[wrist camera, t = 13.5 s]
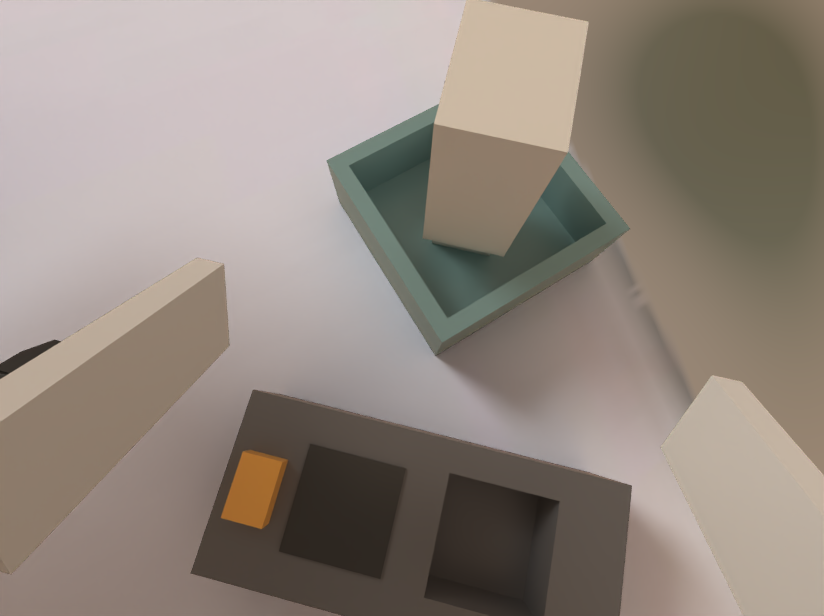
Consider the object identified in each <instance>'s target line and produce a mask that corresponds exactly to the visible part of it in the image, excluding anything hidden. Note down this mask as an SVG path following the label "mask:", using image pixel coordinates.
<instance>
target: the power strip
mask: <svg viewBox="0 0 824 616" xmlns="http://www.w3.org/2000/svg"><path fill="white" fill-rule="evenodd" d="M631 489H632V486H631V485H628V484H624V483H621V482H618V481H615V480H612V479H608V478H605V477H602V476H599V475H595V474H592V473H589V472H585V471H581V470H577V469H573V468H569V467H565V466H561V465H558V464H554V463H550V462H546V461H542V460H538V459H534V458H530V457H526V456H522V455H518V454H514V453H510V452H506V451H502V450H498V449H494V448H491V447H487V446H483V445H479V444H475V443H471V442H467V441H463V440H459V439H455V438H451V437H447V436H443V435H439V434H435V433H431V432H427V431H424V430H420V429H416V428H412V427H408V426H404V425H400V424H396V423H392V422H388V421H384V420H380V419H376V418H372V417H368V416H364V415H360V414H356V413H353V412H349V411H345V410H341V409H337V408H333V407H329V406H325V405H321V404H317V403H313V402H309V401H305V400H301V399H297V398H293V397H289V396H286V395H282V394H276V393H270V392H264V391H258V390H253V391H252V394H251V397H250V400H249V403H248V406H247V409H246V412H245V415H244V418H243V421H242V424H241V427H240V429H239V432H238V435H237V438H236V441H235V444H234V447H233V450H232V453H231V456H230V459H229V462H228V465H227V468H226V471H225V474H224V477H223V479H222V482H221V485H220V488H219V491H218V494H217V497H216V500H215V503H214V506H213V509H212V512H211V515H210V518H209V521H208V524H207V527H206V529H205V532H204V535H203V538H202V541H201V544H200V547H199V550H198V553H197V556H196V559H195V562H194V565H193V568H192V571H191V573H192V574H195V575H199V576H202V577H206V578H210V579H213V580H217V581H220V582H224V583H228V584H231V585H235V586H238V587H242V588H246V589H249V590H253V591H256V592H260V593H264V594H267V595H271V596H274V597H278V598H282V599H285V600H289V601H292V602H296V603H300V604H303V605H307V606H310V607H314V608H318V609H321V610H325V611H328V612H332V613H336V614H339V615H343V616H620V606H621V595H622V585H623V574H624V563H625V553H626V542H627V532H628V521H629V511H630V500H631Z"/></svg>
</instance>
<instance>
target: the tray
mask: <svg viewBox="0 0 824 616" xmlns="http://www.w3.org/2000/svg"><path fill="white" fill-rule="evenodd" d="M438 106H439V104H438V105H436V106H434V107H432V108H430V109H428V110H426V111H424V112H422V113H420V114H418V115H416V116H414V117H412V118H410V119H408V120H406V121H404V122H402V123H400V124H398V125H396V126H394V127H392V128H390V129H388V130H386V131H384V132H382V133H380V134H378V135H376V136H374V137H372V138H370V139H368V140H366V141H364V142H362V143H360V144H358V145H357V146H355V147H353V148H351V149H349V150H347V151H345V152H343V153H341V154H339V155H337V156H335V157H333V158H331V159H329V160H327V163H328V166H329V170H330V173H331V176H332V179H333V183H334V186H335V189H336V192H337V196H338V199H339V202H340V204H341V205H342V207H343V208H344V210H345V212H346V213H347V215H348V216H349V218H350V220H351V221H352V223H353V224H354V226H355V228H356V229H357V231H358V233H359V234H360V236H361V237H362V239H363V241H364V242H365V244H366V245H367V247H368V249H369V250H370V252H371V253H372V255H373V257H374V258H375V260H376V261H377V263H378V265H379V266H380V268H381V269H382V271H383V273H384V274H385V276H386V277H387V279H388V281H389V282H390V284H391V285H392V287H393V289H394V290H395V292H396V293H397V295H398V297H399V298H400V300H401V301H402V303H403V305H404V306H405V308H406V310H407V311H408V313H409V314H410V316H411V318H412V319H413V321H414V322H415V324H416V326H417V327H418V329H419V330H420V332H421V334H422V335H423V337H424V338H425V340H426V342H427V343H428V345H429V346H430V348H431V350H432V351H433V353H434V354H435V356H436V355H438V354H439V353H441V352H442V351H444V350H446V349H447V348H449V347H451V346H452V345H454V344H456V343H457V342H459V341H460V340H462V339H464V338H465V337H467V336H469V335H470V334H472V333H474V332H475V331H477V330H479V329H480V328H482V327H483V326H485V325H487V324H488V323H490V322H492V321H493V320H495V319H497V318H498V317H500V316H501V315H503V314H505V313H506V312H508V311H510V310H511V309H513V308H515V307H516V306H518V305H520V304H521V303H523V302H524V301H526V300H528V299H529V298H531V297H533V296H534V295H536V294H538V293H539V292H541V291H542V290H544V289H546V288H547V287H549V286H551V285H552V284H554V283H556V282H557V281H559V280H560V279H562V278H564V277H565V276H567V275H569V274H570V273H572V272H574V271H575V270H577V269H579V268H580V267H582V266H583V265H585V264H587V263H588V262H590V261H592V260H593V259H594V258H595V257H597V256H598V255H599V254H600V253H602V252H603V251H604V250H605V249H606V248H608V247H609V246H610V245H611V244H612V243H614V242H615V241H616V240H617V239H618V238H620V237H621V236H622V235H623V234H624V233H625V232H627V231H628V230H629V229H630V228H629V227H628V225H627V224H626V223H625V222H624V220H623V219H622V218H621V217H620V215H619V214H618V213H617V212H616V211H615V209H614V208H613V207H612V206H611V204H610V203H609V202H608V201H607V199H606V198H605V197H604V196H603V194H602V193H601V192H600V191H599V189H598V188H597V187H596V186H595V184H594V183H593V182H592V181H591V179H590V178H589V177H588V176H587V175H586V173H585V172H584V171H583V170H582V168H581V167H580V166H579V165H578V163H577V162H576V161H575V160H574V158H573V157H572V156H571V155H570V153H569V152H568V153H567V155H566V156H565V158H564V159H563V161H562V163H561V164H560V166H559V168H558V169H557V171H556V172H555V174H554V176H553V177H552V179H551V181H550V182H549V184H548V185H547V187H546V189H545V190H544V192H543V193H542V195H541V197H540V198H539V200H538V202H537V203H536V205H535V206H534V208H533V210H532V211H531V213H530V215H529V216H528V218H527V219H526V221H525V223H524V224H523V226H522V227H521V229H520V231H519V232H518V234H517V236H516V237H515V239H514V240H513V242H512V244H511V245H510V247H509V249H508V250H507V252H506V253H505V255H504V257H503V256H498V255H494V254H490V255H489V256H487V255H482V254H478V253H473V252H469V251H465V250H460V249H456V248H451V247H447V246H443V245H438V244H434V243H432V240H428V239H423V230H424V220H425V209H426V199H427V189H428V179H429V168H430V158H431V148H432V138H433V128H434V121H435V118H436V114H437V110H438Z"/></svg>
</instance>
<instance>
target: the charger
mask: <svg viewBox="0 0 824 616" xmlns="http://www.w3.org/2000/svg"><path fill="white" fill-rule="evenodd" d="M587 29H588V22H587V21H582V20H577V19H572V18H567V17H562V16H557V15H551V14H546V13H542V12H537V11H532V10H526V9H521V8H516V7H511V6H506V5H501V4H496V3H491V2H486V1H481V0H467V1H466V4H465V8H464V12H463V16H462V20H461V23H460V27H459V31H458V35H457V38H456V42H455V46H454V50H453V53H452V57H451V61H450V65H449V69H448V72H447V76H446V80H445V84H444V87H443V91H442V95H441V99H440V103H439V106H438V110H437V114H436V118H435V121H434V128H433V138H432V148H431V158H430V168H429V179H428V189H427V199H426V209H425V220H424V230H423V239H428V240H432V243H434V244H438V245H443V246H447V247H451V248H456V249H460V250H465V251H469V252H473V253H478V254H482V255H487V256H489V255H490V254H494V255H498V256H503V257H504V255H505V253H506V252H507V250H508V249H509V247H510V245H511V244H512V242H513V240H514V239H515V237H516V236H517V234H518V232H519V231H520V229H521V227H522V226H523V224H524V223H525V221H526V219H527V218H528V216H529V215H530V213H531V211H532V210H533V208H534V206H535V205H536V203H537V202H538V200H539V198H540V197H541V195H542V193H543V192H544V190H545V189H546V187H547V185H548V184H549V182H550V181H551V179H552V177H553V176H554V174H555V172H556V171H557V169H558V168H559V166H560V164H561V163H562V161H563V159H564V158H565V156H566V155H567V153H568V149H569V142H570V136H571V129H572V123H573V117H574V111H575V105H576V98H577V92H578V86H579V80H580V73H581V67H582V61H583V55H584V48H585V42H586V35H587Z"/></svg>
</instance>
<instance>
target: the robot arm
mask: <svg viewBox="0 0 824 616" xmlns="http://www.w3.org/2000/svg"><path fill="white" fill-rule="evenodd" d="M229 346H230V344H229V330H228V315H227V300H226V286H225V271H224V264H223V263H218V262H214V261H209V260H205V259H201V258H196V259H194V260H192V261H191V262H189V263H188V264H186V265H184V266H183V267H181V268H180V269H178V270H176V271H175V272H173V273H171V274H170V275H168V276H167V277H165V278H163V279H162V280H160V281H158V282H157V283H155V284H154V285H152V286H150V287H149V288H147V289H146V290H144V291H142V292H141V293H139V294H137V295H136V296H134V297H133V298H131V299H129V300H128V301H126V302H125V303H123V304H121V305H120V306H118V307H116V308H115V309H113V310H112V311H110V312H108V313H107V314H105V315H103V316H102V317H100V318H99V319H97V320H95V321H94V322H92V323H91V324H89V325H87V326H86V327H84V328H82V329H81V330H79V331H78V332H76V333H74V334H73V335H71V336H69V337H68V338H66V339H65V340H63V341H57V340H53V341H50V342H47V343H44V344H41V345H39V346H36V347H33V348H30V349H27V350H25V351H22V352H20V353H18V354H16V355H15V356H13V357H11V358H10V359H8V360H6V361H4V362H3V363H1V364H0V572H3V573H7V574H12V573H13V572H14V571H15V570H16V569H17V568H18V567H19V566H20V565H21V564H22V562H23V561H24V560H25V559H26V558H27V557H28V556H29V555H30V554H31V553H32V552H33V551H34V550H35V549H36V548H37V547H38V546H39V545H40V544H41V543H42V542H43V540H44V539H45V538H46V537H47V536H48V535H49V534H50V533H51V532H52V531H53V530H54V529H55V528H56V527H57V526H58V525H59V524H60V523H61V522H62V521H63V520H64V518H65V517H66V516H67V515H68V514H69V513H70V512H71V511H72V510H73V509H74V508H75V507H76V506H77V505H78V504H79V503H80V502H81V501H82V500H83V499H84V498H85V496H86V495H87V494H88V493H89V492H90V491H91V490H92V489H93V488H94V487H95V486H96V485H97V484H98V483H99V482H100V481H101V480H102V479H103V478H104V477H105V476H106V474H107V473H108V472H109V471H110V470H111V469H112V468H113V467H114V466H115V465H116V464H117V463H118V462H119V461H120V460H121V459H122V458H123V457H124V456H125V455H126V454H127V452H128V451H129V450H130V449H131V448H132V447H133V446H134V445H135V444H136V443H137V442H138V441H139V440H140V439H141V438H142V437H143V436H144V435H145V434H146V433H147V432H148V430H149V429H150V428H151V427H152V426H153V425H154V424H155V423H156V422H157V421H158V420H159V419H160V418H161V417H162V416H163V415H164V414H165V413H166V412H167V411H168V410H169V408H170V407H171V406H172V405H173V404H174V403H175V402H176V401H177V400H178V399H179V398H180V397H181V396H182V395H183V394H184V393H185V392H186V391H187V390H188V389H189V388H190V386H191V385H192V384H193V383H194V382H195V381H196V380H197V379H198V378H199V377H200V376H201V375H202V374H203V373H204V372H205V371H206V370H207V369H208V368H209V367H210V366H211V364H212V363H213V362H214V361H215V360H216V359H217V358H218V357H219V356H220V355H221V354H222V353H223V352H224V351H225V350H226V349H227V348H228V347H229ZM661 449H662V451H663V453H664V455H665V457H666V460H667V462H668V464H669V466H670V468H671V470H672V472H673V474H674V476H675V478H676V480H677V482H678V484H679V486H680V488H681V490H682V492H683V494H684V496H685V498H686V500H687V502H688V504H689V506H690V508H691V510H692V512H693V514H694V516H695V518H696V520H697V523H698V525H699V527H700V529H701V531H702V533H703V535H704V537H705V539H706V541H707V543H708V545H709V547H710V549H711V551H712V553H713V555H714V557H715V559H716V561H717V563H718V565H719V567H720V569H721V571H722V573H723V575H724V577H725V579H726V581H727V583H728V585H729V588H730V590H731V592H732V594H733V596H734V598H735V600H736V602H737V604H738V606H739V608H740V610H741V612H742V614H743V616H824V475H823V474H822V473H821V472H820V471H819V469H818V468H817V467H816V466H815V465H814V464H813V462H812V461H811V460H810V459H809V458H808V457H807V456H806V454H805V453H804V452H803V451H802V450H801V449H800V448H799V447H798V445H797V444H796V443H795V442H794V441H793V440H792V438H791V437H790V436H789V435H788V434H787V433H786V432H785V430H784V429H783V428H782V427H781V426H780V425H779V423H778V422H777V421H776V420H775V419H774V418H773V417H772V416H771V414H770V413H769V412H768V411H767V410H766V409H765V407H764V406H763V405H762V404H761V403H760V402H759V401H758V399H757V398H756V397H755V396H754V395H753V394H752V393H751V391H750V390H749V389H748V388H747V387H746V386H745V385H744V383H743V382H741V381H736V380H732V379H728V378H723V377H718V376H714V375H712V376H711V377H710V379H709V380H708V382H707V383H706V384H705V386H704V387H703V388H702V390H701V391H700V393H699V394H698V395H697V397H696V398H695V400H694V401H693V402H692V404H691V405H690V407H689V408H688V409H687V411H686V412H685V414H684V415H683V417H682V418H681V419H680V421H679V422H678V424H677V425H676V426H675V428H674V429H673V431H672V432H671V433H670V435H669V436H668V438H667V439H666V440H665V442H664V443H663V445H662V446H661Z"/></svg>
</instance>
